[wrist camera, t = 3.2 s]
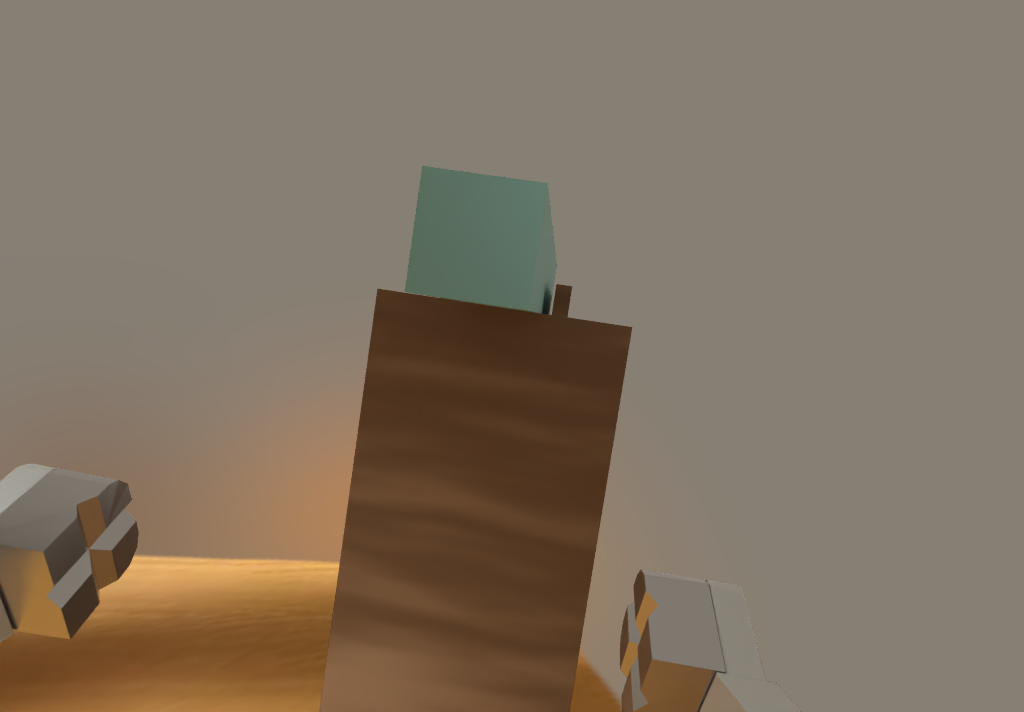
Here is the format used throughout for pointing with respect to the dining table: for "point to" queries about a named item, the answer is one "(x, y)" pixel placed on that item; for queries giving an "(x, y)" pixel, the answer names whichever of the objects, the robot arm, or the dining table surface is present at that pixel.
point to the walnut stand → (473, 507)
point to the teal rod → (483, 241)
